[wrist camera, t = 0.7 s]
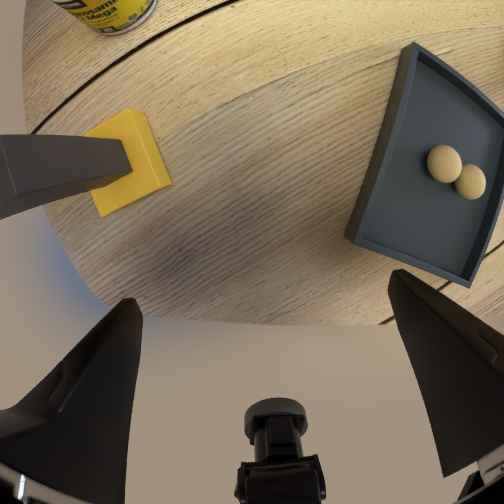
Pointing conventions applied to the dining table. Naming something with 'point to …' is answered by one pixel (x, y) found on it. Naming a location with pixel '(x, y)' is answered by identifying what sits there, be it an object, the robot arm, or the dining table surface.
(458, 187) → the crumb
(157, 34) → the dining table surface
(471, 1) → the dining table surface
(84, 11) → the pill bottle
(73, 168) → the grey and yellow block
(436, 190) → the tray
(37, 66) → the dining table surface
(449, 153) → the crumb
